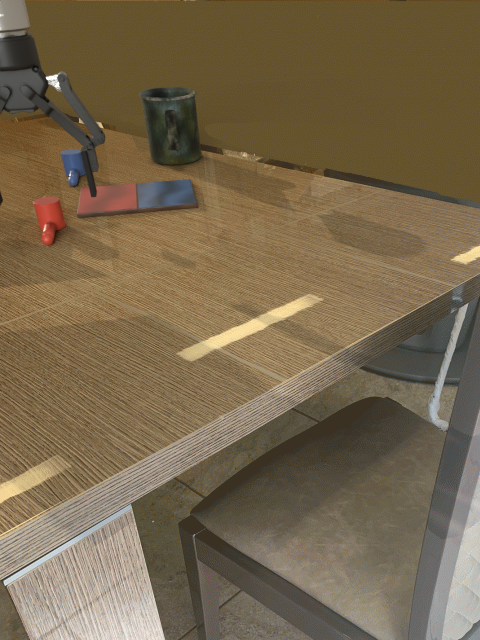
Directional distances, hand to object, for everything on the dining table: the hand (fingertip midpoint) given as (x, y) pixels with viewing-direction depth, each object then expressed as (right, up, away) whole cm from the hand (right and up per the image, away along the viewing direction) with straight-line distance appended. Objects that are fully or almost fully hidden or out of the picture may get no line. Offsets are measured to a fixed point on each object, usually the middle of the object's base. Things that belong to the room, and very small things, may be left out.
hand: (47, 199), depth 96 cm
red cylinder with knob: (+1, -5, 0) cm, 5 cm away
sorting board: (+10, +5, +13) cm, 17 cm away
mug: (+12, +19, +31) cm, 39 cm away
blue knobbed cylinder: (-4, +12, +22) cm, 25 cm away
